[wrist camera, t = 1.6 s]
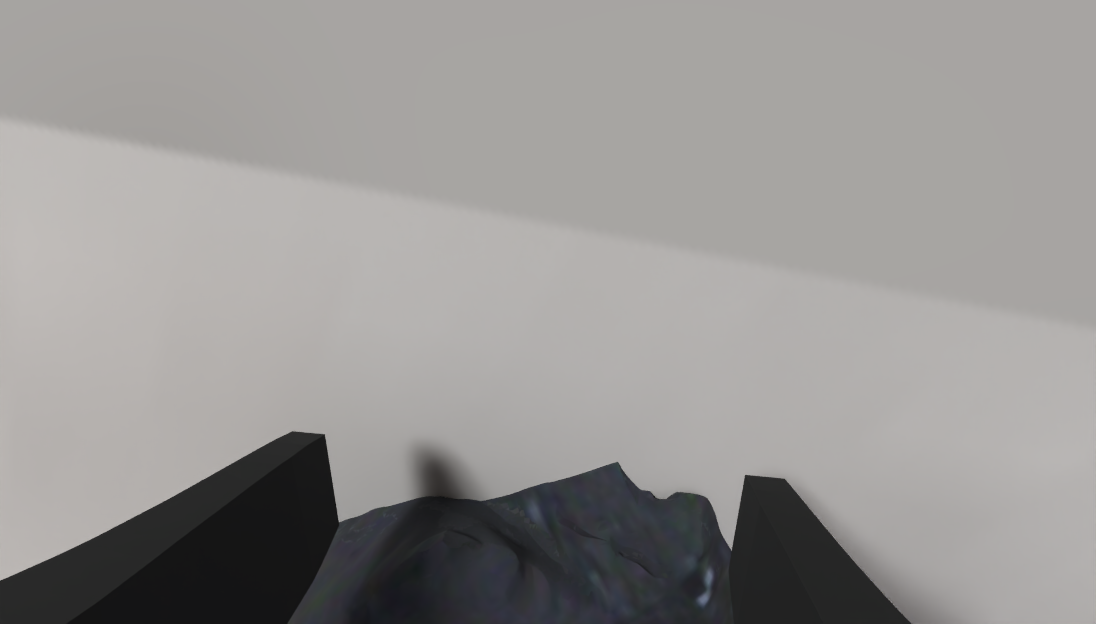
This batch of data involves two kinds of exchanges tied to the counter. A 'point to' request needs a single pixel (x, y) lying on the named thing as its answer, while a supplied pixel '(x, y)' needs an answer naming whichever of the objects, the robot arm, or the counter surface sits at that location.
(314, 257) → the counter surface
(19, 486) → the counter surface
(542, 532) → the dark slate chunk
